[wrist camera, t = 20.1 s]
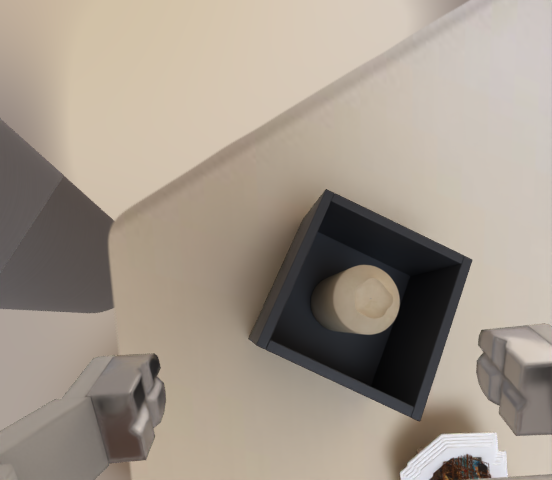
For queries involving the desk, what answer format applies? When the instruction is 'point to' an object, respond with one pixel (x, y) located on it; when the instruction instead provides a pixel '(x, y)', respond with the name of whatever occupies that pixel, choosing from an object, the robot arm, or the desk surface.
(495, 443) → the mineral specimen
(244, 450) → the desk surface
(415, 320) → the dark open square box
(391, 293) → the candle
